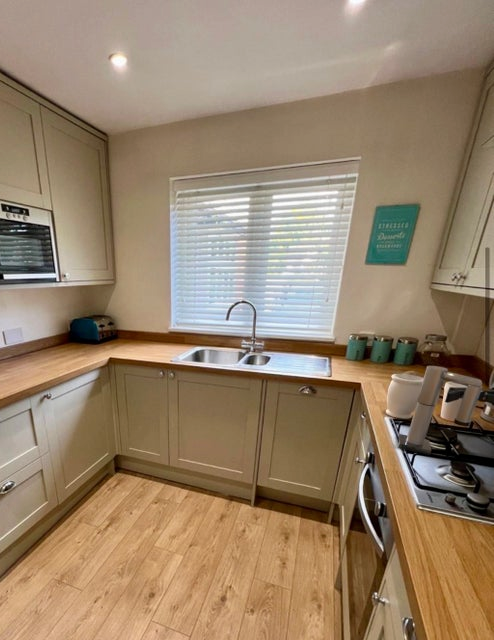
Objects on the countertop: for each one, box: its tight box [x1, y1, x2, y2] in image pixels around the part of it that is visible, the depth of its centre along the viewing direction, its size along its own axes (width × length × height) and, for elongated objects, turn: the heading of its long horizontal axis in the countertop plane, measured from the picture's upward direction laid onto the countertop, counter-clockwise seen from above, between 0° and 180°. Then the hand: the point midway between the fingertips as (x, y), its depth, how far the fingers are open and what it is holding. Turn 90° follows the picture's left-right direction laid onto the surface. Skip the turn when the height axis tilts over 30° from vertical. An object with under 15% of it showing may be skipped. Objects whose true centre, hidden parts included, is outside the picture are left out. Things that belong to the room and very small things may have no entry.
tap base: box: [397, 402, 436, 456], centre depth 100 cm, size 8×8×14 cm
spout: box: [417, 365, 483, 427], centre depth 92 cm, size 14×5×13 cm, turn 22°
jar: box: [385, 373, 424, 420], centre depth 123 cm, size 11×10×15 cm
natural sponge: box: [402, 370, 423, 378], centre depth 151 cm, size 9×9×10 cm
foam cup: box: [440, 381, 467, 423], centre depth 122 cm, size 10×9×13 cm
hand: (475, 405), depth 91 cm, fingers open, 13 cm apart
